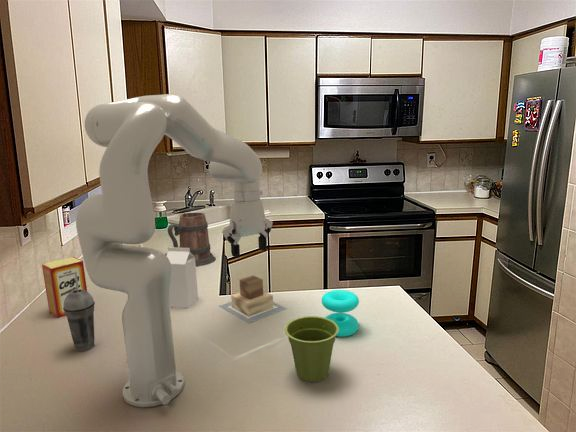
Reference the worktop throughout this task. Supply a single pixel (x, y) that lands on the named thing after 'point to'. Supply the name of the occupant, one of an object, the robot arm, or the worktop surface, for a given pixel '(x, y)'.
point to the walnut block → (251, 287)
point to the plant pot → (312, 346)
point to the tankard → (193, 237)
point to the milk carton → (182, 278)
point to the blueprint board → (254, 317)
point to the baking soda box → (62, 282)
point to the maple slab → (252, 303)
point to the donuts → (342, 310)
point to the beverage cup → (80, 317)
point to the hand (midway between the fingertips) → (249, 253)
